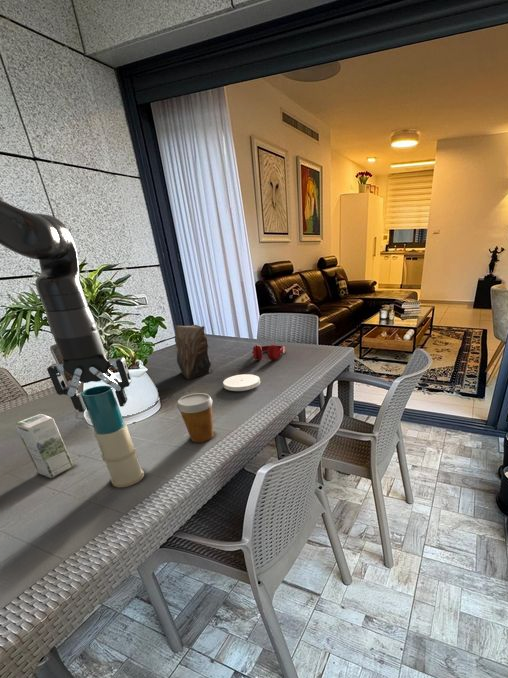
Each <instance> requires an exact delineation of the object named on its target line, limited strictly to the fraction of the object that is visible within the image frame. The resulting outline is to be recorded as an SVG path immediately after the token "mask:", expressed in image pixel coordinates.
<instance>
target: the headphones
mask: <svg viewBox="0 0 508 678" xmlns="http://www.w3.org/2000/svg"><path fill="white" fill-rule="evenodd" d="M263 352H266V354H267V358H268V359H269V360H270V361H276V360H279V358H280V356H281V355H282V354H284V353H286V347H285V346H284V345H276V344H270V345H260V344H256V345H254V346H253V348H252V351H251V353H252V354H253V358H254V360H255V361H261V360H262V359H263Z"/></svg>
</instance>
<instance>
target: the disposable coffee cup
mask: <svg viewBox="0 0 508 678" xmlns="http://www.w3.org/2000/svg"><path fill="white" fill-rule="evenodd" d="M213 402H214V401H213V398H211V396H210V394H208V393H204V392H195V393H189V394H187V395H184V396H182V397H180V398H178V400H177V405H176V408H177V410H178V411H179V412H180V415H181V418H182V420H183V422H184V424H185V428H186V429H187V432H188V435H189V437H190V439H191V441H192V442H194V443H203V442H208V441H209V440H211V439H212V438H213V437H214V421H213Z"/></svg>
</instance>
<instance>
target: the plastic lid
mask: <svg viewBox="0 0 508 678" xmlns="http://www.w3.org/2000/svg"><path fill="white" fill-rule="evenodd" d="M222 384H223V388H224V389H225V390H227V391H231V392H244V391H249V390H252V389H255V388H257V387H258V386H259V385H261V378H260V377H259V376H258V375H255V374H251V373H250V374H249V373H243V374H236V375H232V376H229V377H227V378H225V379H224V380H223V381H222Z"/></svg>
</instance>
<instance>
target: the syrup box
mask: <svg viewBox="0 0 508 678" xmlns="http://www.w3.org/2000/svg"><path fill="white" fill-rule="evenodd" d="M14 426H15V428H16V431H17V433H18V435H19V436H20V439H21V440H22V442H23V443H22V444H23V445H24V447H25V449H26V451H27V453H28V455H29V457H30V459H31V461H32V463H33V465H34V467H35V470H36V471H37V473H38V474H39V475H42V476H45V477H47V478H49V479H53V478H55V477H57V476H58V475H59V476H60V475H61V474H62V473H64V472H66V471H68V470H70V469H72V468H74V464H73V461H72V459H71V456H70V454H69V451H68V449H67V448H66V445H65V443H64V441H63V438H62V435H61V433H60V431H59V427H58V425H57V424H56V421H55V419H54V417H53V418H52V417H51V416H48V415H46V414H42V413H38V414H35V415H34V416H30V417H28V418H25V419H23V420H19V421H17V422H15V423H14Z"/></svg>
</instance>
